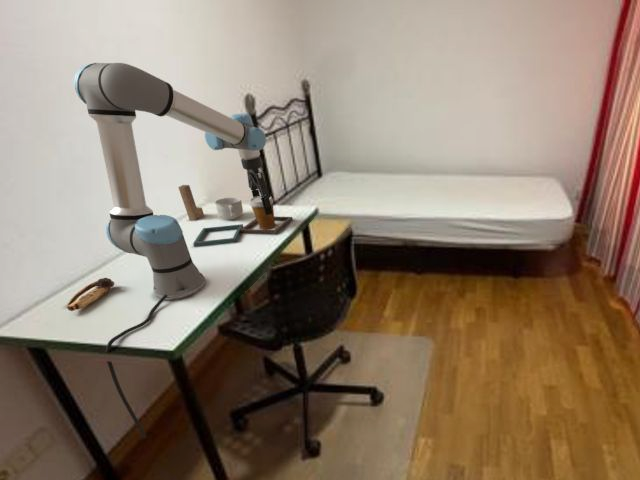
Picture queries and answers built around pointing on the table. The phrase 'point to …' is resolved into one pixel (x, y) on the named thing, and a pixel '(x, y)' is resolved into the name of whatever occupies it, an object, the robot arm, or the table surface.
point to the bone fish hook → (90, 294)
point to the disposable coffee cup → (262, 213)
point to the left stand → (220, 241)
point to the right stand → (256, 231)
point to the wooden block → (190, 203)
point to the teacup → (229, 208)
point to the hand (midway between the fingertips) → (263, 209)
